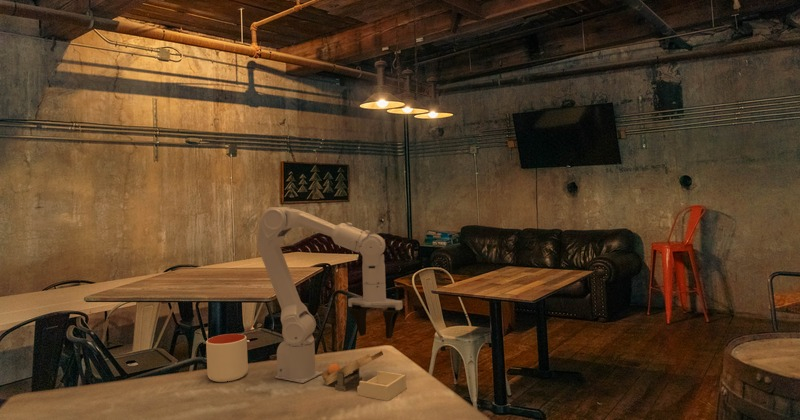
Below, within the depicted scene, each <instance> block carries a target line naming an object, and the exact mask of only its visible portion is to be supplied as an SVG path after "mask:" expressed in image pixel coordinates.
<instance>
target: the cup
mask: <svg viewBox="0 0 800 420" xmlns="http://www.w3.org/2000/svg"><path fill="white" fill-rule="evenodd" d="M247 343H248V340H247V336H246V335H245V334H243V333H242V334H241V333H228V334H227V333H225V334H220V335H215V336H212V337H210V338H207V340H206V341H205V345H206V346H205V348H206V371H207V372H206V373H207V374H206V375H207V377H208V379H210V380H211V381H212V382H218V383H226V382H227V381H228V382H231V381H232V382H233V381H237V380H239V379H241V378H244V377H245V376H246V375H247V373H248V371H249V365H248V364H249V363H248V362H249V361H248V360H249V359H248V344H247ZM228 382H227V383H228Z"/></svg>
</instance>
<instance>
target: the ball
mask: <svg viewBox="0 0 800 420" xmlns="http://www.w3.org/2000/svg"><path fill="white" fill-rule="evenodd" d="M340 369H341V367H340V365H339V364H338V363H335V362H334V363H330V365H328V367H327V371H328V373H329V374H330V375H331V374H332V373H334V372H336V371H338V370H340Z"/></svg>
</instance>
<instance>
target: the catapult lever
mask: <svg viewBox="0 0 800 420" xmlns="http://www.w3.org/2000/svg"><path fill="white" fill-rule="evenodd" d="M381 356H384V353H383V350H381V351H379V352H376V353H375V354H373V355H370V353H367V354H366V355H364V356H362V357H361V358H360V357H359V358H358V359H355V360H354V361H352V362H351V363H349V364H347V365H345V366H343V367H340V370H338V371H336V372H334V373H332V374H331V375H330V374H329V373H328V370H326V371H324V372H323V373H322V374H321V376H322V380H323V381H324V383H325V385H326V386H329V385H330V384H332V383H333V382H334V383H335V381H336V382H337V373H338V372H340V373H344V377H345V376H347V375H349V374H351V373H353V371H354V370H356V369H358V368H359V369H360V368H361V367H363V366H366V365H367V364H369V363H371V362H372V361H374V360H376V359H378V358H380V357H381Z"/></svg>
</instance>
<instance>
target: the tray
mask: <svg viewBox="0 0 800 420" xmlns="http://www.w3.org/2000/svg"><path fill="white" fill-rule="evenodd" d="M376 374H377V375H375V376H373V377H372V378H370V379H368V380H366V381H364V380H362V381H359V384H358V386H357V387H356V389H357V391H356V393H357V396H361V397H367V398H369V399H377V400H381V401H386V402H388V401H390V400H392V399H393V398H395V397H396V396H397V395H398V394H400V393H402V392H403V391H405V390H406V389H407V379H406V378H407V377H406V374H400V373H395V372H390V371H383V370H377V371H376Z"/></svg>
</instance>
